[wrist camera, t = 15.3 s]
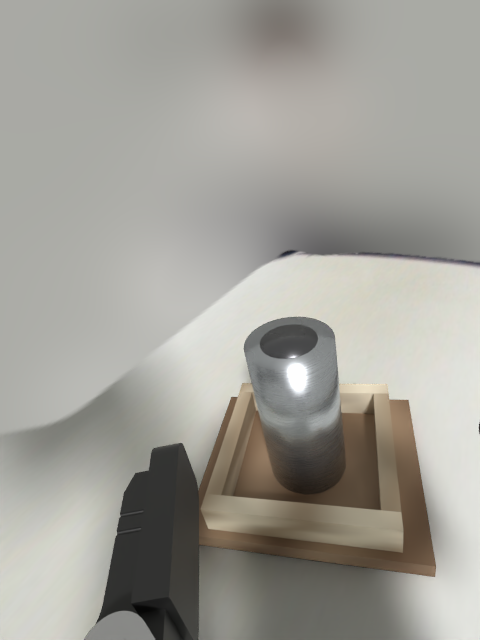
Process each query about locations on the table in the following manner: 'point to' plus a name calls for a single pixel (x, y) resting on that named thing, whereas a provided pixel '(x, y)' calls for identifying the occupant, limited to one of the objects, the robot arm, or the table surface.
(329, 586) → the table surface
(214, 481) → the wooden tray
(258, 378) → the steel tube
